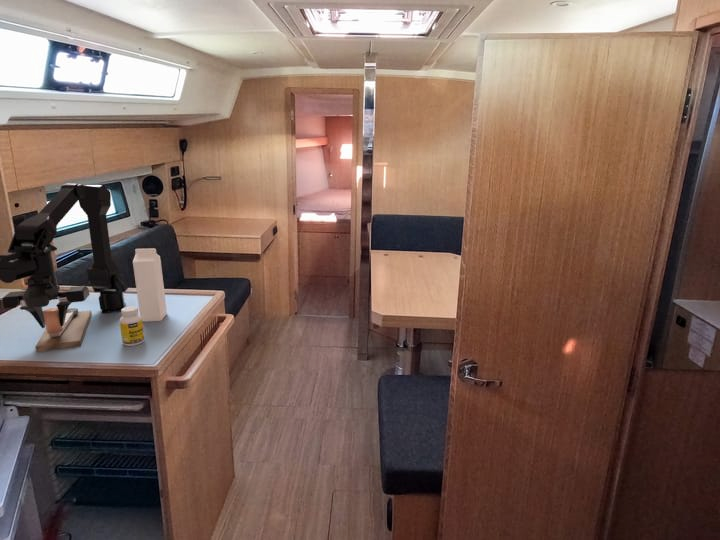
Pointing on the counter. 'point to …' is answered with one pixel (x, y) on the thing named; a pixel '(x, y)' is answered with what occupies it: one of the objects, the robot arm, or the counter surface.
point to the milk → (149, 284)
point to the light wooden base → (67, 334)
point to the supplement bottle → (131, 326)
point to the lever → (57, 320)
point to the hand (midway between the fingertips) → (53, 326)
